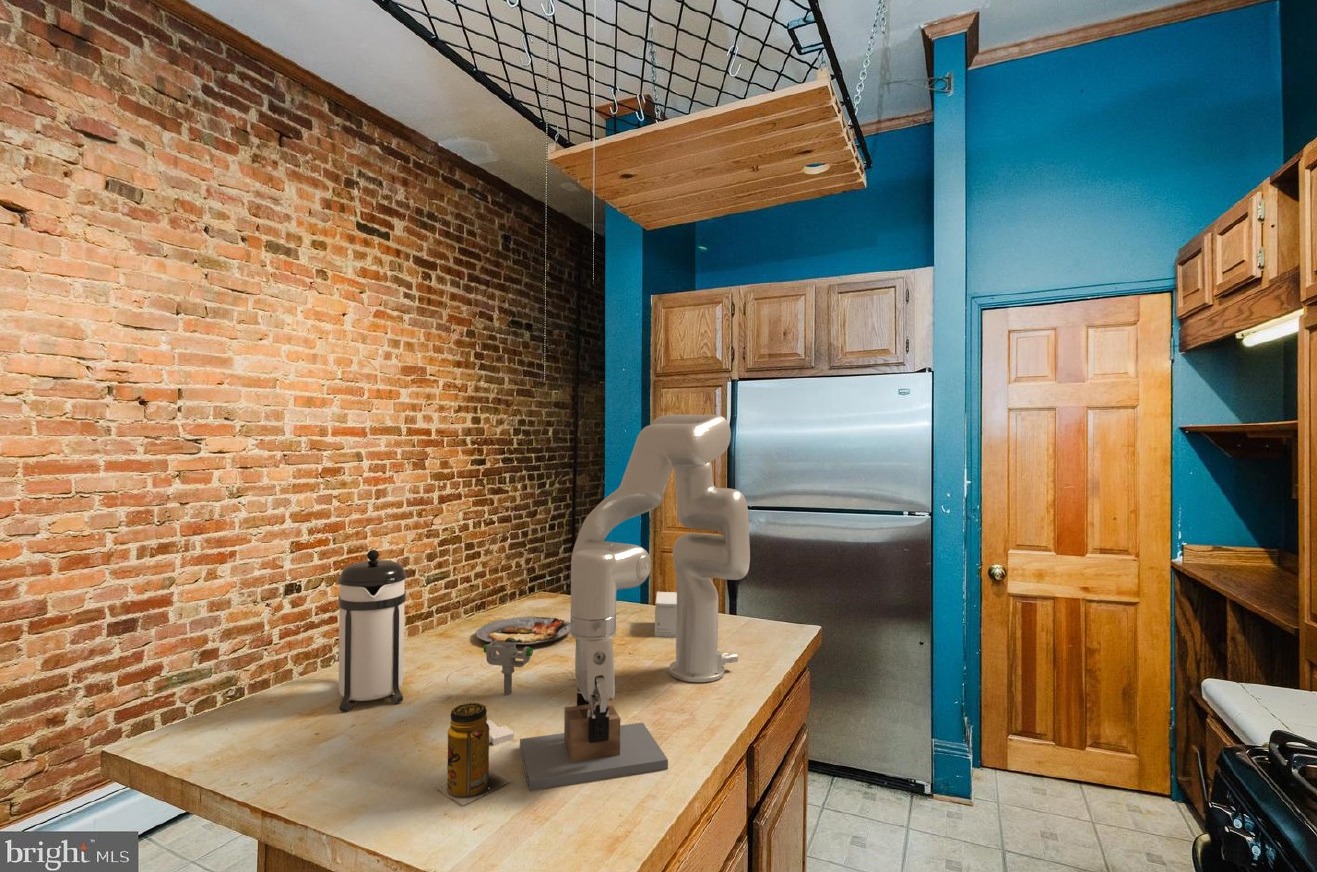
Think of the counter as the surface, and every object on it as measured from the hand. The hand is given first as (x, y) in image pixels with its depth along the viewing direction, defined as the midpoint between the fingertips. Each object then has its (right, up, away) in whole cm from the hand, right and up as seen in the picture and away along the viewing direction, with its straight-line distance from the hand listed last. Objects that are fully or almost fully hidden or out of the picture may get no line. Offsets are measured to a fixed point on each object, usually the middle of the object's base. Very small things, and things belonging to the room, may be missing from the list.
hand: (592, 727), depth 107 cm
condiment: (-17, -5, -9) cm, 20 cm away
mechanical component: (-20, -5, +26) cm, 33 cm away
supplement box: (+19, -6, +71) cm, 74 cm away
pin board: (0, -5, 0) cm, 5 cm away
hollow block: (0, -4, 0) cm, 4 cm away
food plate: (-24, -5, +65) cm, 69 cm away
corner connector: (-20, -6, +7) cm, 22 cm away
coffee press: (-48, -5, +24) cm, 54 cm away
